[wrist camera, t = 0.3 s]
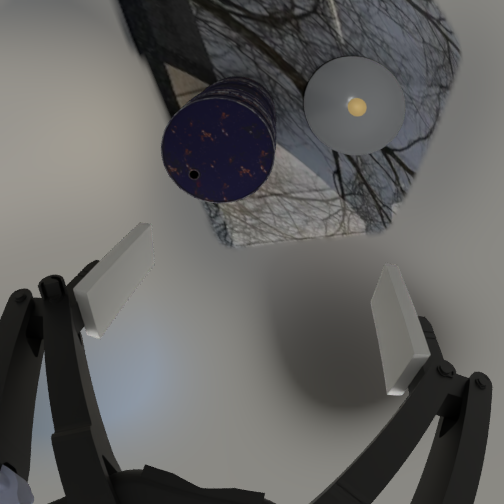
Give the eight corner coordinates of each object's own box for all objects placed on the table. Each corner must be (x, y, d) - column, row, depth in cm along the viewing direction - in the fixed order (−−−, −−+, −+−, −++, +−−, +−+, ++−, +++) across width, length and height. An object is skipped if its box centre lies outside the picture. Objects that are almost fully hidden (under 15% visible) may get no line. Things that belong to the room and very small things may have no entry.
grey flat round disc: (353, 35, 28) (356, 35, 27) (419, 109, 33) (423, 112, 32) (281, 104, 35) (281, 107, 34) (351, 169, 40) (354, 174, 39)
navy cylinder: (237, 59, 32) (215, 70, 20) (292, 114, 36) (301, 157, 24) (182, 113, 37) (138, 155, 25) (236, 162, 41) (218, 223, 29)
